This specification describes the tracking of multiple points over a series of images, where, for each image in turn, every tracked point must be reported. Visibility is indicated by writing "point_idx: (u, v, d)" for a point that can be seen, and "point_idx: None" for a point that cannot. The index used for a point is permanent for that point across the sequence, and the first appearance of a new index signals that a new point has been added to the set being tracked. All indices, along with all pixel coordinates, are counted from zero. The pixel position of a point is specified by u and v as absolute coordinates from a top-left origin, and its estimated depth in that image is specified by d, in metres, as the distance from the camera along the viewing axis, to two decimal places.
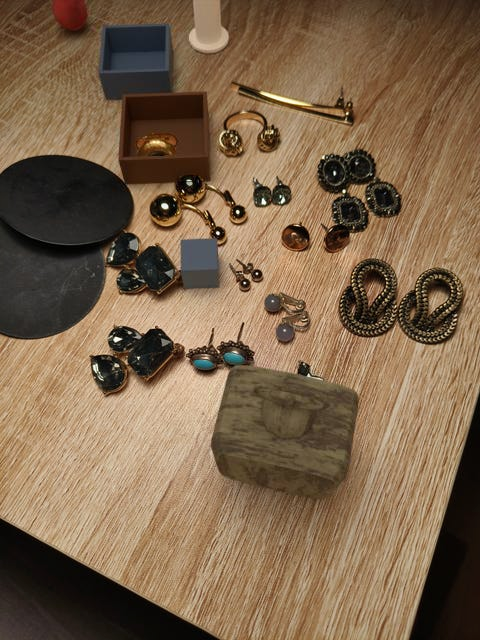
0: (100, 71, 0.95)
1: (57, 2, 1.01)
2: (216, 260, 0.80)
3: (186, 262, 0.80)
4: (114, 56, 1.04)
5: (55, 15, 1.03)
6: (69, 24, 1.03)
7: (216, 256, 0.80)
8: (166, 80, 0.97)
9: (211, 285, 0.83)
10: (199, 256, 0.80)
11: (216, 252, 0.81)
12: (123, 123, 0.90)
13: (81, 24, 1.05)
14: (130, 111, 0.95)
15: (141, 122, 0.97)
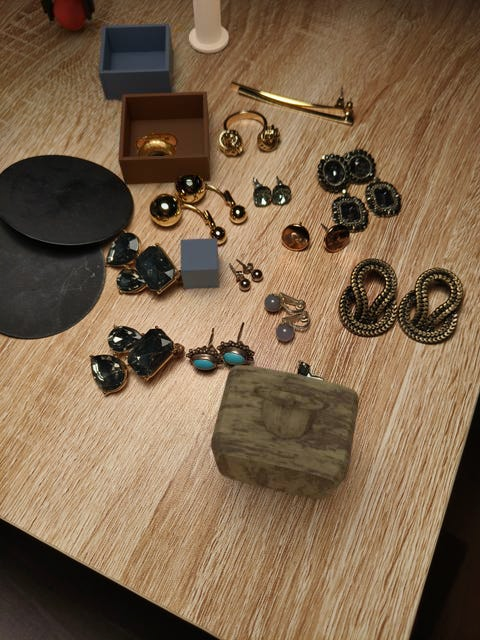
0: (100, 71, 0.95)
1: (57, 2, 1.01)
2: (216, 260, 0.80)
3: (186, 262, 0.80)
4: (114, 56, 1.04)
5: (55, 15, 1.03)
6: (69, 24, 1.03)
7: (216, 256, 0.80)
8: (166, 80, 0.97)
9: (211, 285, 0.83)
10: (199, 256, 0.80)
11: (216, 252, 0.81)
12: (123, 123, 0.90)
13: (81, 24, 1.05)
14: (130, 111, 0.95)
15: (141, 122, 0.97)
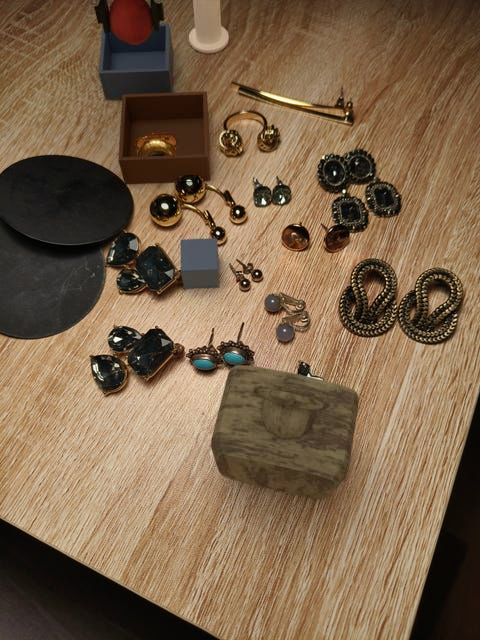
0: (100, 71, 0.95)
1: (117, 8, 0.76)
2: (216, 260, 0.80)
3: (186, 262, 0.80)
4: (114, 56, 1.04)
5: (113, 25, 0.78)
6: (132, 36, 0.78)
7: (216, 256, 0.80)
8: (166, 80, 0.97)
9: (211, 285, 0.83)
10: (199, 256, 0.80)
11: (216, 252, 0.81)
12: (123, 123, 0.90)
13: (146, 36, 0.79)
14: (130, 111, 0.95)
15: (141, 122, 0.97)
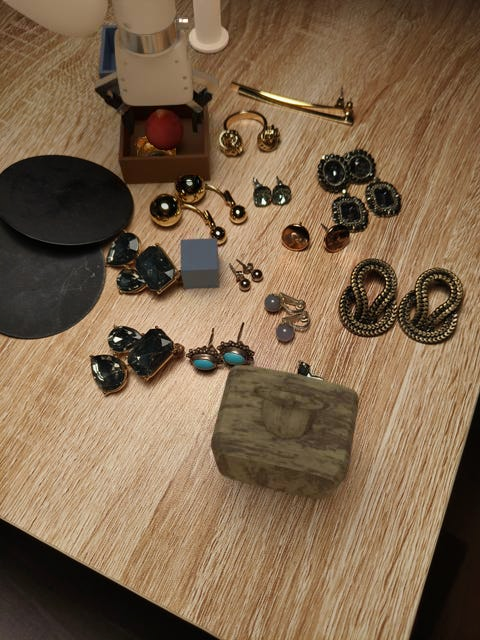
0: (100, 71, 0.95)
1: (153, 124, 0.89)
2: (216, 260, 0.80)
3: (186, 262, 0.80)
4: (114, 56, 1.04)
5: (148, 137, 0.90)
6: (165, 146, 0.90)
7: (216, 256, 0.80)
8: None
9: (211, 285, 0.83)
10: (199, 256, 0.80)
11: (216, 252, 0.81)
12: None
13: (177, 145, 0.92)
14: None
15: (141, 122, 0.97)
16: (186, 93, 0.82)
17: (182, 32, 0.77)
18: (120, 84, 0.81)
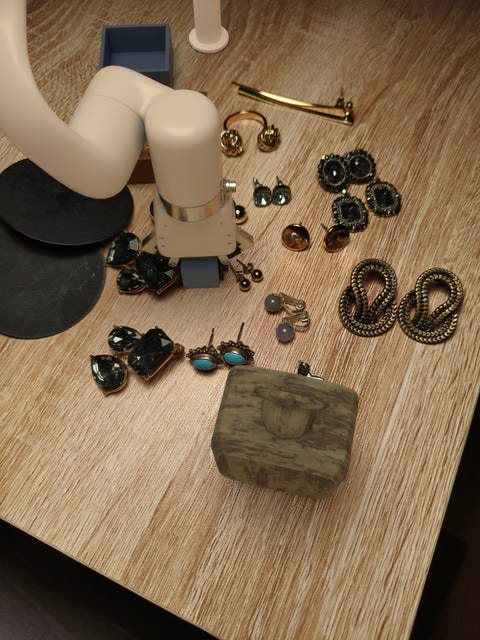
0: None
1: None
2: (216, 260, 0.80)
3: (186, 262, 0.80)
4: (114, 56, 1.04)
5: None
6: None
7: (216, 256, 0.80)
8: (166, 80, 0.97)
9: (211, 285, 0.83)
10: None
11: None
12: None
13: None
14: None
15: None
16: (229, 247, 0.76)
17: None
18: (158, 241, 0.74)
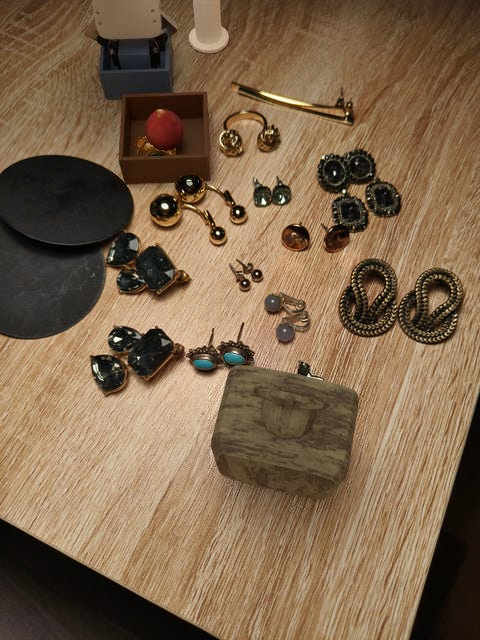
0: (100, 71, 0.95)
1: (153, 124, 0.89)
2: (148, 47, 0.96)
3: (123, 49, 0.96)
4: None
5: (148, 137, 0.90)
6: (165, 146, 0.90)
7: (148, 45, 0.97)
8: (166, 80, 0.97)
9: None
10: (134, 45, 0.97)
11: None
12: (123, 123, 0.90)
13: (177, 145, 0.92)
14: (130, 111, 0.95)
15: (141, 122, 0.97)
16: (155, 26, 0.92)
17: None
18: (95, 17, 0.90)
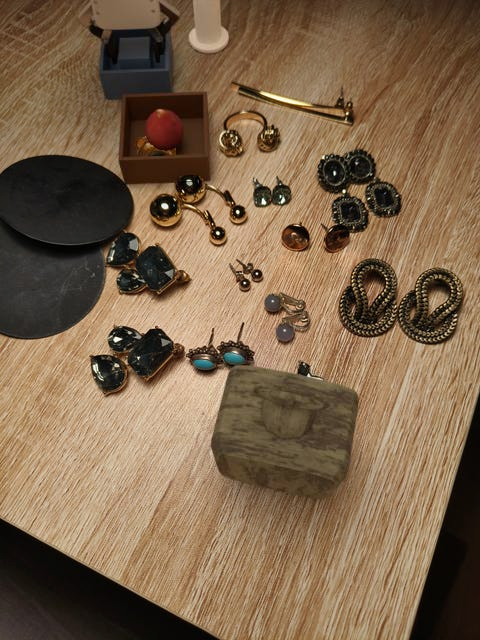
0: (100, 71, 0.95)
1: (153, 124, 0.89)
2: (148, 52, 0.97)
3: (123, 53, 0.97)
4: None
5: (148, 137, 0.90)
6: (165, 146, 0.90)
7: (148, 49, 0.97)
8: (166, 80, 0.97)
9: None
10: (134, 49, 0.97)
11: (148, 46, 0.98)
12: (123, 123, 0.90)
13: (177, 145, 0.92)
14: (130, 111, 0.95)
15: (141, 122, 0.97)
16: (154, 16, 0.90)
17: None
18: (93, 7, 0.89)
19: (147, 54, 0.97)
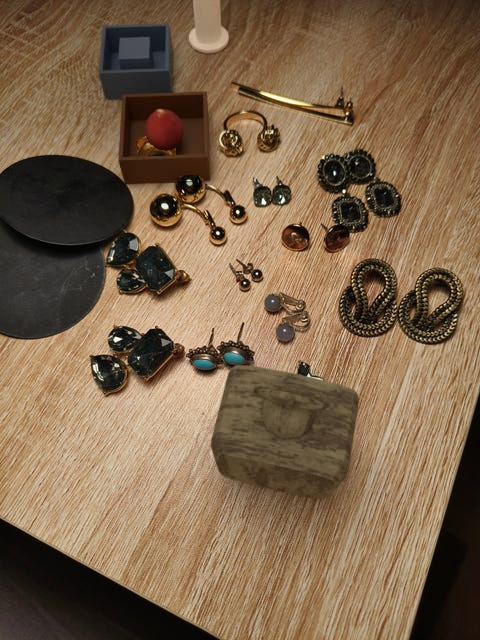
0: (100, 71, 0.95)
1: (153, 124, 0.89)
2: (148, 52, 0.97)
3: (123, 53, 0.97)
4: (114, 56, 1.04)
5: (148, 137, 0.90)
6: (165, 146, 0.90)
7: (148, 49, 0.97)
8: (166, 80, 0.97)
9: None
10: (134, 49, 0.97)
11: (148, 46, 0.98)
12: (123, 123, 0.90)
13: (177, 145, 0.92)
14: (130, 111, 0.95)
15: (141, 122, 0.97)
16: None
17: None
18: None
19: (147, 54, 0.97)
